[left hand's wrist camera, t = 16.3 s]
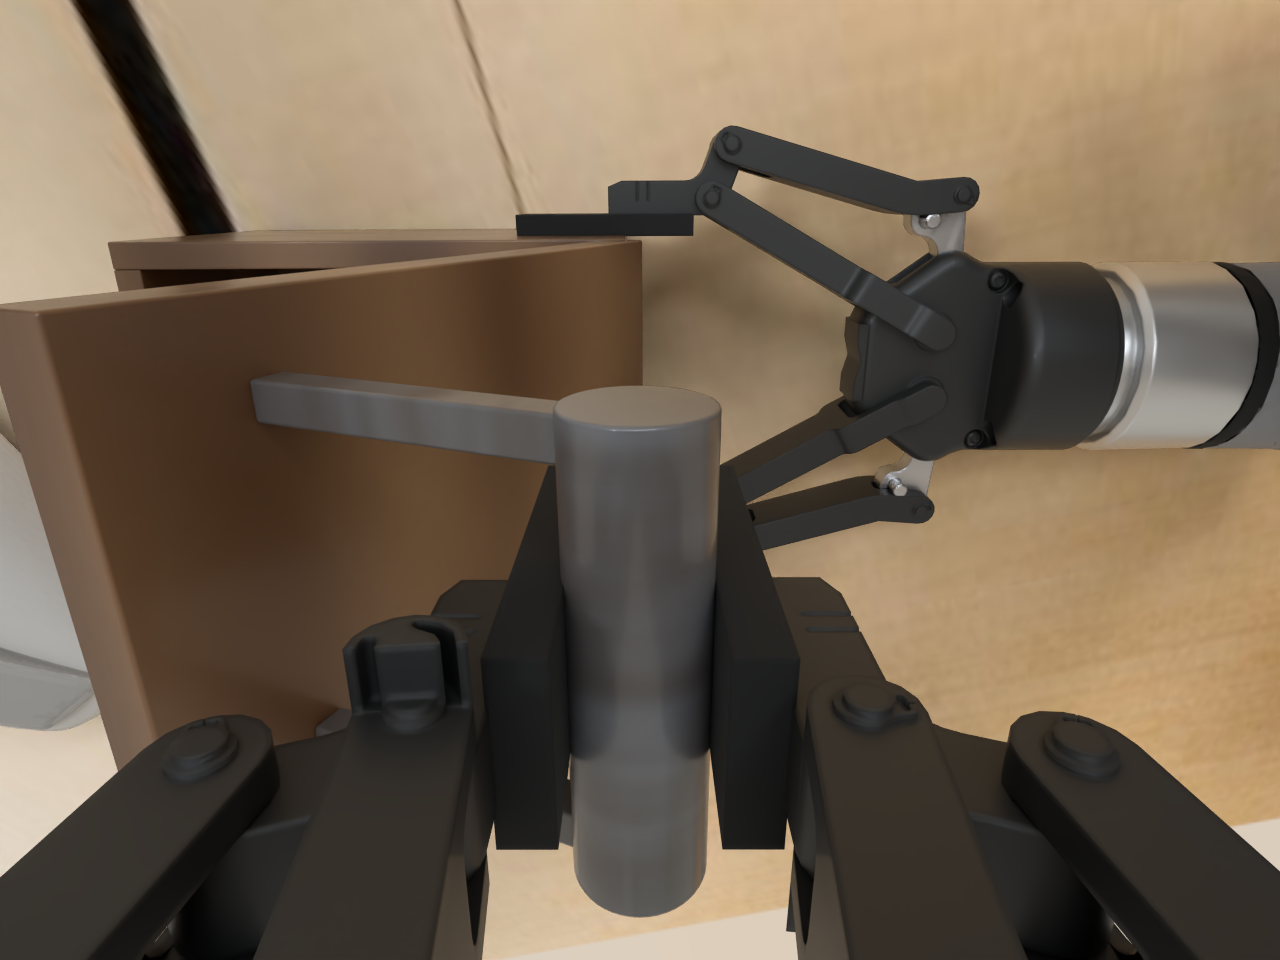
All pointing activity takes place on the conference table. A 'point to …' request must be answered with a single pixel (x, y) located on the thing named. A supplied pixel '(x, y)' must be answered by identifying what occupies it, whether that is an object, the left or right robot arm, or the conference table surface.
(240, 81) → the conference table surface
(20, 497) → the projector
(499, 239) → the chest
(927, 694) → the conference table surface
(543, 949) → the conference table surface
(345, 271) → the lid
